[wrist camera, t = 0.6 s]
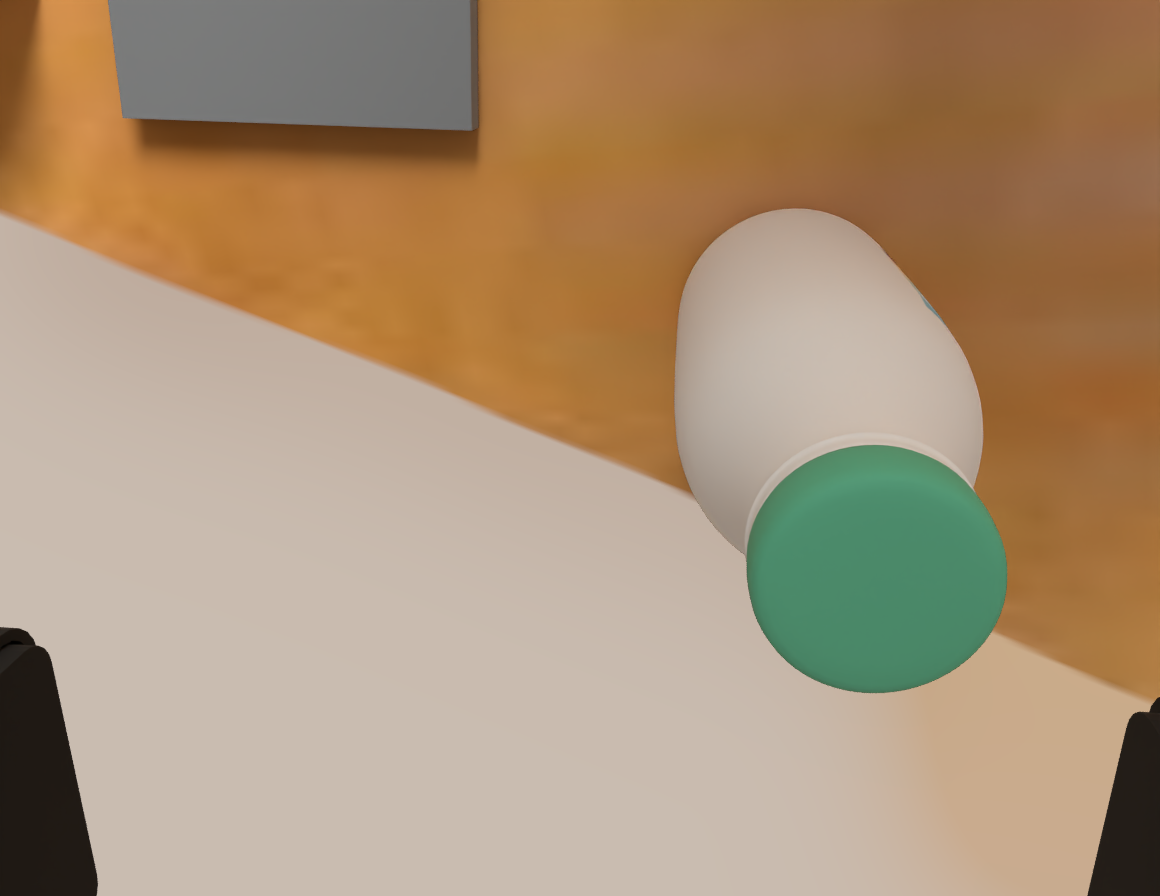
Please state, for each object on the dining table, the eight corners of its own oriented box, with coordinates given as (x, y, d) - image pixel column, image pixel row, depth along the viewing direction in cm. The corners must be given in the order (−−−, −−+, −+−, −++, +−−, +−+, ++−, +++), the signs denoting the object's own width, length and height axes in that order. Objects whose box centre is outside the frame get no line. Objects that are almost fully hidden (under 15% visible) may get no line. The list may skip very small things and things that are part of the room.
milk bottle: (644, 371, 39) (600, 683, 20) (732, 169, 36) (773, 317, 17) (839, 449, 39) (970, 826, 20) (941, 256, 36) (1200, 491, 18)
